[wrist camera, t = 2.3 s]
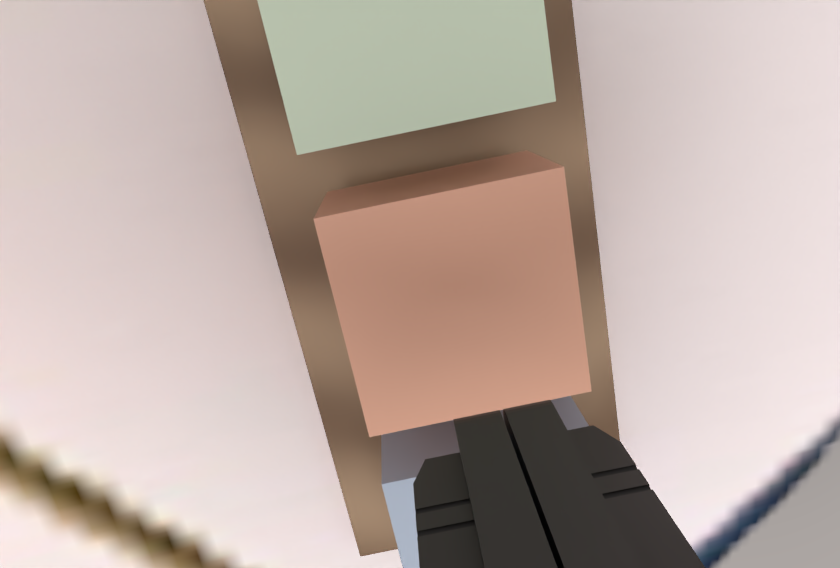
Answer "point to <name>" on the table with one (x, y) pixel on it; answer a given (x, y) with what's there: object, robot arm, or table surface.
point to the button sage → (403, 64)
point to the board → (379, 160)
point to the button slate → (406, 459)
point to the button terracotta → (456, 290)
